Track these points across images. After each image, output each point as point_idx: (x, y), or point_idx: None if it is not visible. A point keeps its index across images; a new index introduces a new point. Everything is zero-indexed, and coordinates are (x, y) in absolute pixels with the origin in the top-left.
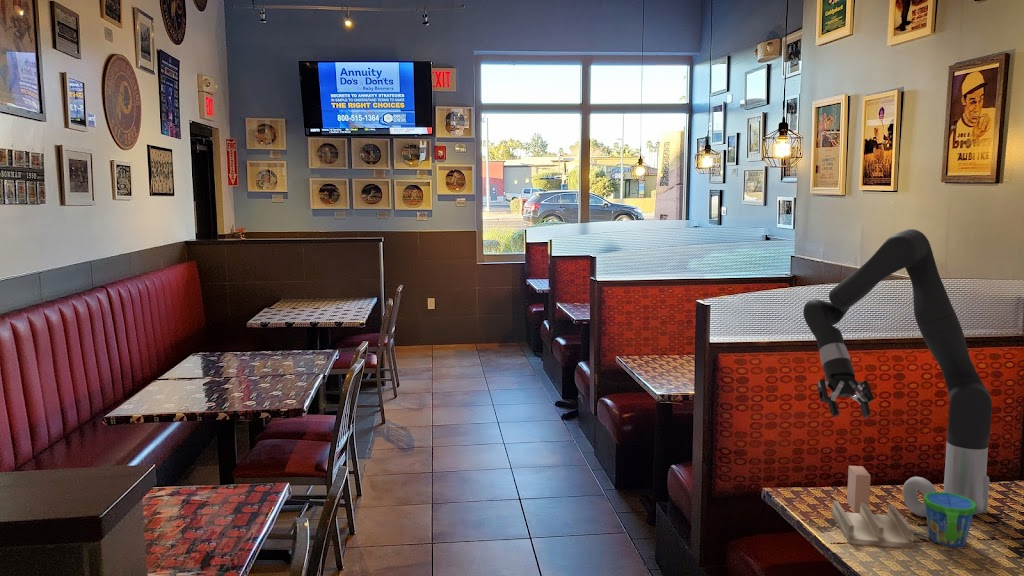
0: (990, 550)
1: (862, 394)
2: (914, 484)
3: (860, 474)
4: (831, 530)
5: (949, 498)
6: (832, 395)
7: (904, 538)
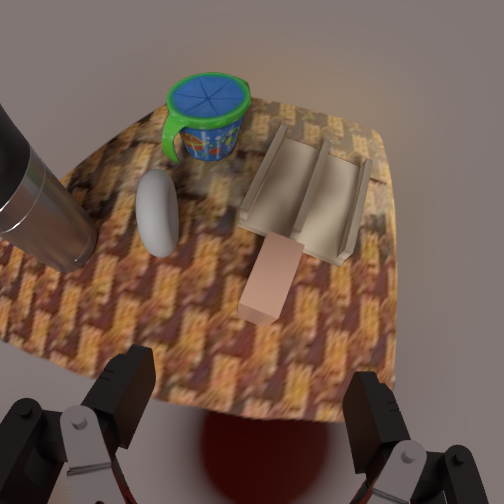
0: None
1: (74, 467)
2: (167, 201)
3: (291, 244)
4: (368, 216)
5: (191, 107)
6: (415, 482)
7: (282, 148)
